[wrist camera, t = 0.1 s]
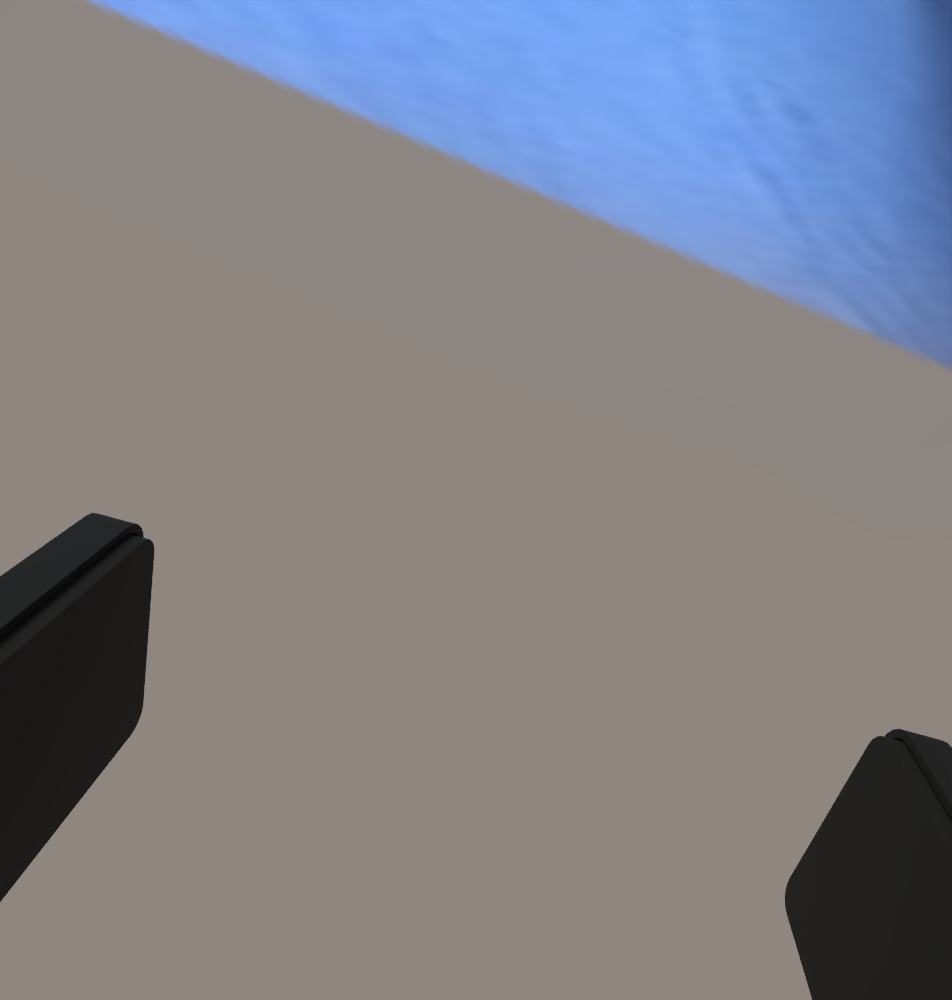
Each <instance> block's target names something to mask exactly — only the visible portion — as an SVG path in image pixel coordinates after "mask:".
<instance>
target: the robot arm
mask: <svg viewBox="0 0 952 1000" xmlns="http://www.w3.org/2000/svg"><path fill="white" fill-rule="evenodd" d="M153 561H154V545H153V542H152V541H151V540H149V539H146V538H143V531H142V528H141V527H140V526H139V525H138V524H134V523H131V522H126V521H123V520H119V519H115V518H112V517H108V516H105V515H101V514H96V513H91V514H89V515H87V516H85V517H84V518H82V519H81V520H80V521H78V522H77V523H75V524H74V525H73V526H71V527H70V528H68V529H67V530H66V531H64V532H62V533H61V534H60V535H58V536H57V537H55V538H54V539H53V540H51V541H50V542H48V543H47V544H45V545H44V546H43V547H42V548H40V549H39V550H37V551H36V552H34V553H33V554H31V555H30V556H28V557H27V558H26V559H24V560H23V561H21V562H20V563H19V564H17V565H16V566H14V567H13V568H11V569H10V570H9V571H7V572H6V573H4V574H3V575H1V576H0V902H1V900H2V899H3V898H4V896H5V895H6V894H7V893H8V891H9V890H10V889H11V887H12V886H13V885H14V884H15V882H16V881H17V880H18V878H19V877H20V876H21V875H22V873H23V872H24V871H25V870H26V868H27V867H28V866H29V864H30V863H31V862H32V861H33V859H34V858H35V857H36V855H37V854H38V853H39V852H40V850H41V849H42V848H43V847H44V845H45V844H46V843H47V841H48V840H49V839H50V837H51V836H52V835H53V834H54V833H55V831H56V830H57V829H58V827H59V826H60V825H61V824H62V822H63V821H64V820H65V818H66V817H67V816H68V815H69V813H70V812H71V811H72V809H73V808H74V807H75V806H76V804H77V803H78V802H79V801H80V799H81V798H82V797H83V795H84V794H85V793H86V792H87V790H88V789H89V788H90V786H91V785H92V784H93V783H94V781H95V780H96V779H97V778H98V776H99V775H100V774H101V772H102V771H103V770H104V769H105V767H106V766H107V765H108V763H109V762H110V761H111V759H112V758H113V757H114V756H115V754H116V753H117V752H118V751H119V749H120V748H121V747H122V745H123V744H124V743H125V742H126V740H127V739H128V738H129V737H130V735H131V734H132V732H133V731H134V729H135V727H136V725H137V723H138V721H139V718H140V715H141V712H142V708H143V698H144V685H145V671H146V657H147V643H148V629H149V616H150V602H151V588H152V574H153ZM785 907H786V912H787V916H788V919H789V923H790V926H791V929H792V933H793V936H794V939H795V942H796V946H797V949H798V953H799V956H800V960H801V963H802V966H803V970H804V973H805V976H806V980H807V983H808V986H809V990H810V993H811V997H812V1000H952V747H950V745H949V744H948V743H946V742H944V741H942V740H938V739H934V738H931V737H927V736H924V735H920V734H916V733H912V732H909V731H905V730H901V729H896V730H892V731H890V732H889V733H887V734H886V735H885V737H882V736H879V737H876V738H874V739H873V740H872V741H871V742H870V743H869V745H868V746H867V748H866V750H865V751H864V753H863V755H862V757H861V758H860V760H859V762H858V763H857V765H856V767H855V769H854V770H853V772H852V774H851V775H850V777H849V779H848V780H847V782H846V784H845V785H844V787H843V789H842V790H841V792H840V794H839V796H838V797H837V799H836V801H835V802H834V804H833V806H832V808H831V809H830V811H829V813H828V814H827V816H826V818H825V819H824V821H823V823H822V824H821V826H820V828H819V830H818V831H817V833H816V835H815V836H814V838H813V840H812V841H811V843H810V845H809V847H808V848H807V850H806V852H805V853H804V855H803V857H802V858H801V860H800V862H799V863H798V865H797V867H796V869H795V870H794V872H793V874H792V875H791V877H790V879H789V881H788V883H787V888H786V893H785Z"/></svg>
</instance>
